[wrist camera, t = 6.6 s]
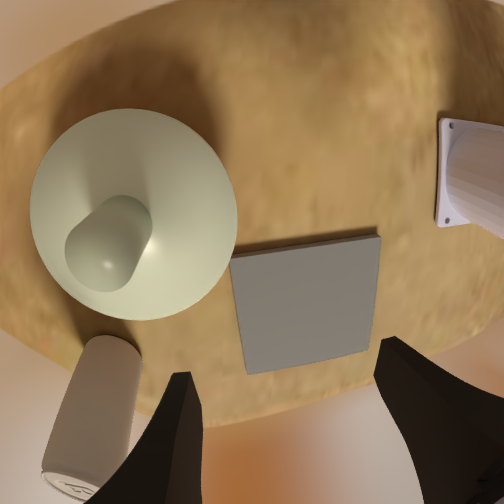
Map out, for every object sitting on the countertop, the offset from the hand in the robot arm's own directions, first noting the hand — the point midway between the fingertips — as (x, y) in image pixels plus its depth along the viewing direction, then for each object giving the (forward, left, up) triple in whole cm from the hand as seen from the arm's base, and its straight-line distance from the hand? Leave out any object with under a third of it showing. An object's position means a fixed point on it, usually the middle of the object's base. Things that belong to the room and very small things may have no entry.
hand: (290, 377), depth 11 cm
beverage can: (+12, +6, -10) cm, 17 cm away
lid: (+6, -5, -6) cm, 10 cm away
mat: (-3, +4, -10) cm, 11 cm away
